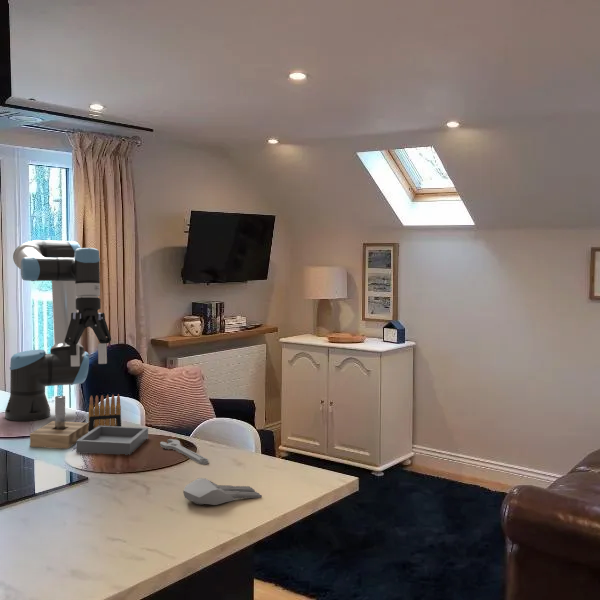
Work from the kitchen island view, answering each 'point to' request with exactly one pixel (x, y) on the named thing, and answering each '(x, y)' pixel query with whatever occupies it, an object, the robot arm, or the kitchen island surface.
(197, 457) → the adjustable wrench
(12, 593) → the kitchen island surface
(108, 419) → the ammunition clip
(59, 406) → the pin
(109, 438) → the tray
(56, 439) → the tan board with hole
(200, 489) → the turret
